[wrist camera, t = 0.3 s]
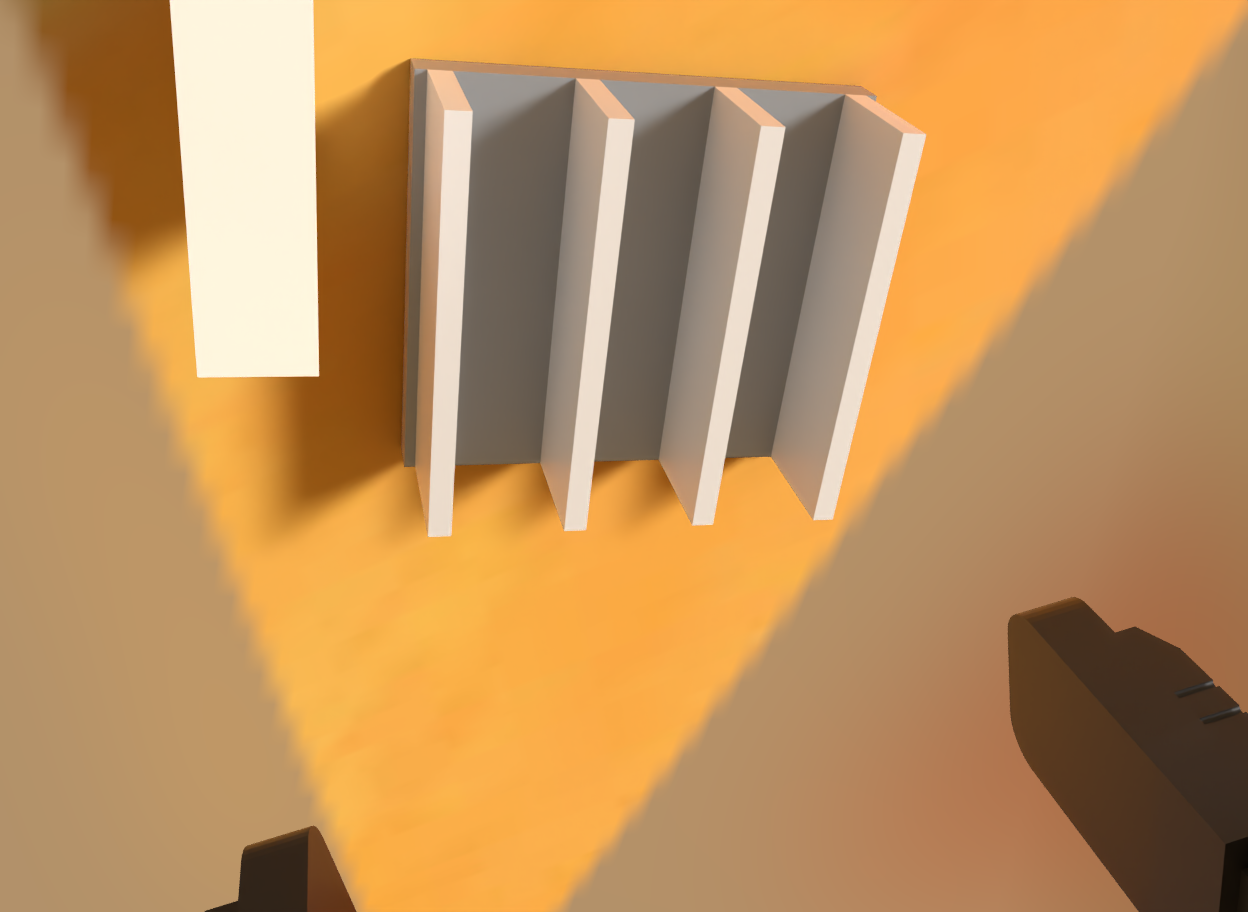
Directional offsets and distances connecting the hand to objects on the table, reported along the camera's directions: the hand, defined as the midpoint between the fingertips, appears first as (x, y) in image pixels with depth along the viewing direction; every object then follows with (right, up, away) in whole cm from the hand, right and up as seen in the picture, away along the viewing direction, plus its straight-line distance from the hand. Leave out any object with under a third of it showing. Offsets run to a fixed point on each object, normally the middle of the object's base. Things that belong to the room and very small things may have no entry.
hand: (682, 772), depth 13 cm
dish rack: (-1, +9, +20) cm, 22 cm away
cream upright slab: (-9, +14, +14) cm, 22 cm away
